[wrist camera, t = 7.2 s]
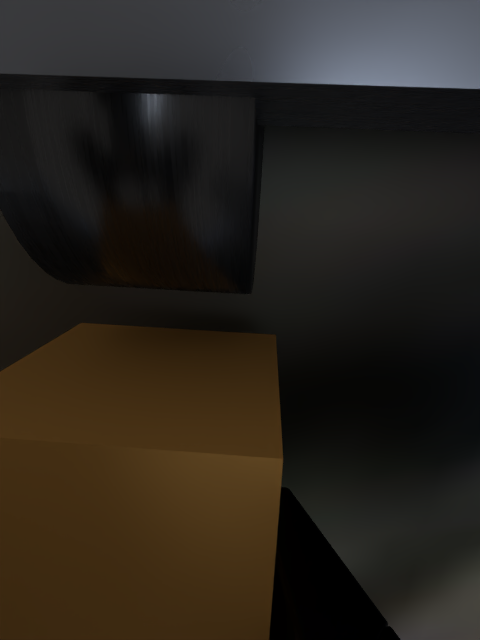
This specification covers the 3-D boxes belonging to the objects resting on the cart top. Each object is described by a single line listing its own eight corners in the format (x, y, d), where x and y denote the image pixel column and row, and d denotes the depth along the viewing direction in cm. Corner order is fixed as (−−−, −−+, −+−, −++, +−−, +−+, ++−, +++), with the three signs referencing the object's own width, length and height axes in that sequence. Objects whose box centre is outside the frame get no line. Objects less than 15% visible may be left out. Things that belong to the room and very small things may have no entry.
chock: (259, 579, 10) (252, 853, 6) (92, 564, 10) (-34, 818, 6) (275, 334, 9) (283, 459, 4) (81, 322, 9) (-98, 430, 5)
